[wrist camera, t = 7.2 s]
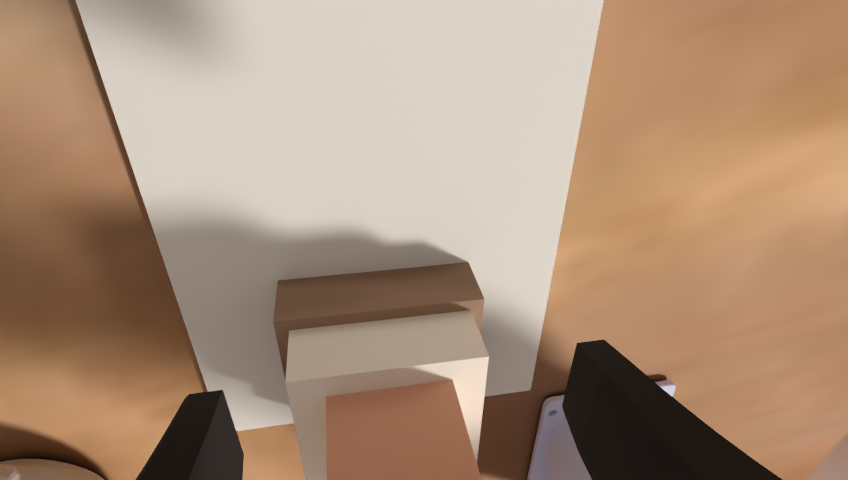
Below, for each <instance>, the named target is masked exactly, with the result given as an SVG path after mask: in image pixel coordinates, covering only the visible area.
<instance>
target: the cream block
mask: <svg viewBox="0 0 848 480" xmlns="http://www.w3.org/2000/svg"><path fill="white" fill-rule="evenodd" d="M488 361H489V355H488V353H487V350H486V347H485V345H484V342H483V340H482V337H481V334H480V332H479V329H478V327H477V324H476V321H475V319H474V316H473V314H472V311H471V310H468V311H459V312H450V313H441V314H432V315H423V316H414V317H405V318H396V319H387V320H378V321H369V322H360V323H351V324H342V325H333V326H324V327H315V328H306V329H297V330H289V338H288V352H287V366H286V380H285V383H286V388H287V393H288V398H289V402H290V407H291V412H292V417H293V421H294V426H295V431H296V436H297V441H298V445H299V450H300V455H301V460H302V465H303V469H304V474H305V479H306V480H327V458H326V396H334V395H341V394H349V393H356V392H363V391H371V390H378V389H386V388H393V387H401V386H408V385H415V384H423V383H430V382H438V381H445V380H453V383H454V386H455V390H456V393H457V396H458V400H459V403H460V407H461V410H462V414H463V417H464V421H465V424H466V428H467V431H468V435H469V438H470V442H471V445H472V449H473V452H474V456H475V459H476V463H477V458H478V449H479V440H480V431H481V423H482V414H483V405H484V396H485V387H486V379H487V370H488Z"/></svg>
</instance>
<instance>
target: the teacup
mask: <svg viewBox="0 0 848 480" xmlns="http://www.w3.org/2000/svg"><path fill="white" fill-rule="evenodd" d="M0 480H104V479H103V478H102V477H100V476H99V475H97V474H95V473H94V472H92V471H89V470H87V469H85V468H82V467H79V466H76V465H73V464H69V463H64V462H59V461H54V460H45V459H16V460H7V461H2V462H0Z"/></svg>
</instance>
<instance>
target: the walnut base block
mask: <svg viewBox="0 0 848 480" xmlns="http://www.w3.org/2000/svg"><path fill="white" fill-rule="evenodd" d="M483 308H484V297H483V295H482V292H481V290H480V288H479V285H478V283H477V281H476V278H475V276H474V274H473V271H472V269H471V267H470V264H469V262H464V263H454V264H444V265H433V266H423V267H412V268H402V269H392V270H381V271H371V272H361V273H350V274H340V275H330V276H319V277H309V278H298V279H288V280H278V283H277V292H276V301H275V310H274V318H273V324H274V329H275V333H276V338H277V343H278V348H279V353H280V357H281V362H282V367H283V372H284V377H285V380H286V366H287V352H288V338H289V330H297V329H306V328H315V327H324V326H333V325H342V324H351V323H360V322H369V321H378V320H387V319H396V318H405V317H414V316H423V315H432V314H441V313H450V312H459V311H468V310H471V311H472V314H473V316H474V319H475V321H476V324H477V327H478V329H479V332H480V334H481V329H482V318H483Z"/></svg>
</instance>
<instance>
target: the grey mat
mask: <svg viewBox="0 0 848 480" xmlns="http://www.w3.org/2000/svg"><path fill="white" fill-rule="evenodd" d="M603 1H604V0H76V3H77V6H78V9H79V12H80V15H81V18H82V21H83V24H84V27H85V30H86V33H87V36H88V39H89V42H90V45H91V48H92V51H93V54H94V56H95V59H96V62H97V65H98V68H99V71H100V74H101V77H102V80H103V83H104V86H105V89H106V92H107V95H108V98H109V101H110V104H111V107H112V110H113V113H114V116H115V119H116V122H117V125H118V128H119V130H120V133H121V136H122V139H123V142H124V145H125V148H126V151H127V154H128V157H129V160H130V163H131V166H132V169H133V172H134V175H135V178H136V181H137V184H138V187H139V190H140V193H141V196H142V199H143V202H144V204H145V207H146V210H147V213H148V216H149V219H150V222H151V225H152V228H153V231H154V234H155V237H156V240H157V243H158V246H159V249H160V252H161V255H162V258H163V261H164V264H165V267H166V270H167V273H168V276H169V278H170V281H171V284H172V287H173V290H174V293H175V296H176V299H177V302H178V305H179V308H180V311H181V314H182V317H183V320H184V323H185V326H186V329H187V332H188V335H189V338H190V341H191V344H192V347H193V350H194V352H195V355H196V358H197V361H198V364H199V367H200V370H201V373H202V376H203V379H204V382H205V385H206V388H207V391H208V392H210V391H218V390H223V392H224V395H225V398H226V401H227V404H228V408H229V411H230V414H231V417H232V420H233V423H234V426H235V429H236V431H241V430H248V429H256V428H263V427H270V426H277V425H284V424H292V423H294V421H293V417H292V412H291V407H290V402H289V398H288V393H287V388H286V383H285V377H284V372H283V367H282V362H281V357H280V353H279V348H278V343H277V338H276V333H275V329H274V324H273V318H274V310H275V301H276V292H277V283H278V280H288V279H298V278H309V277H319V276H330V275H340V274H350V273H361V272H371V271H381V270H392V269H402V268H412V267H423V266H433V265H444V264H454V263H464V262H469V264H470V267H471V269H472V271H473V274H474V276H475V278H476V281H477V283H478V285H479V288H480V290H481V292H482V295H483V297H484V308H483V318H482V329H481V337H482V340H483V342H484V345H485V347H486V350H487V353H488V355H489V361H488V370H487V379H486V387H485V396H484V397H486V396H493V395H500V394H507V393H515V392H522V391H529V390H531V385H532V380H533V375H534V369H535V364H536V359H537V353H538V348H539V343H540V337H541V332H542V327H543V321H544V316H545V311H546V305H547V300H548V295H549V289H550V284H551V279H552V273H553V268H554V263H555V257H556V252H557V247H558V241H559V236H560V231H561V225H562V220H563V215H564V209H565V204H566V199H567V193H568V188H569V182H570V177H571V172H572V166H573V161H574V156H575V150H576V145H577V140H578V134H579V129H580V124H581V118H582V113H583V108H584V102H585V97H586V92H587V86H588V81H589V76H590V70H591V65H592V60H593V54H594V49H595V44H596V38H597V33H598V28H599V22H600V17H601V12H602V6H603Z"/></svg>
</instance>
